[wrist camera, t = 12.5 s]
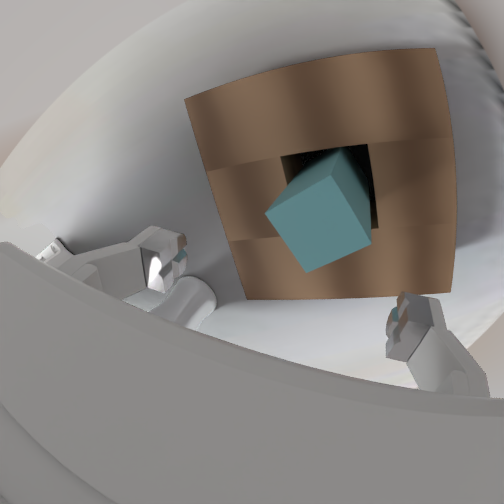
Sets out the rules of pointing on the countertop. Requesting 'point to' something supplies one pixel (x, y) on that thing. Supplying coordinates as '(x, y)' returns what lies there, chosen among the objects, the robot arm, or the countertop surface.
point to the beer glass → (187, 303)
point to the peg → (324, 210)
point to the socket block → (331, 136)
